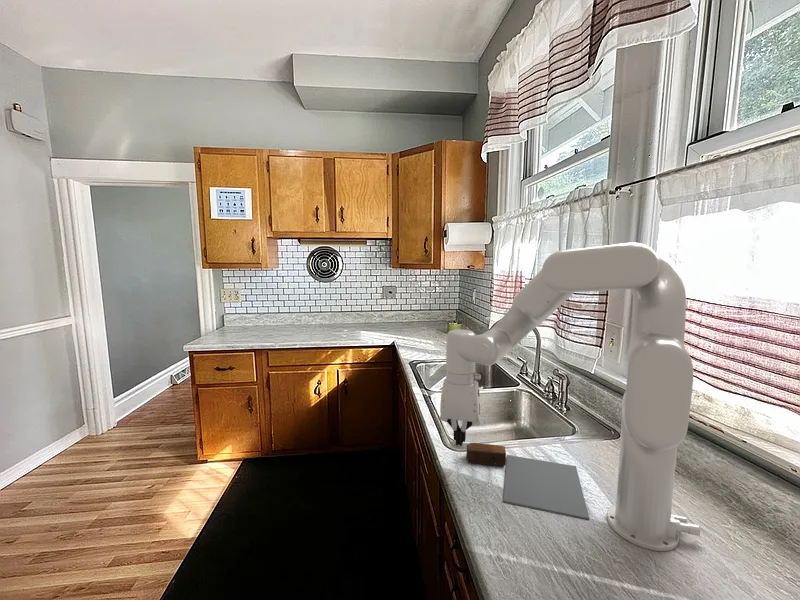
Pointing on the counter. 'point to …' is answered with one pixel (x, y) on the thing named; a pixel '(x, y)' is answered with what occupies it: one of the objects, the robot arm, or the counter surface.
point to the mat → (544, 486)
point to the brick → (486, 454)
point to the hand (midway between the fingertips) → (459, 443)
